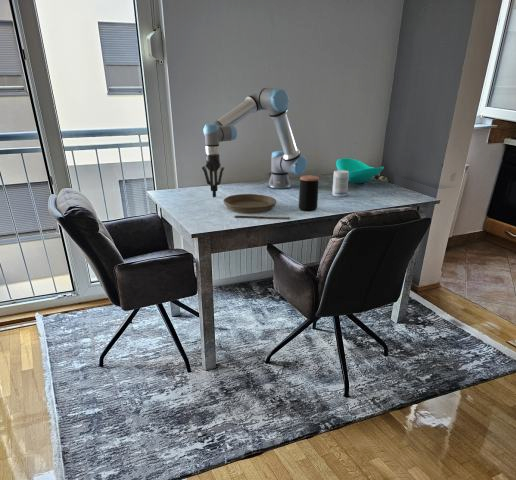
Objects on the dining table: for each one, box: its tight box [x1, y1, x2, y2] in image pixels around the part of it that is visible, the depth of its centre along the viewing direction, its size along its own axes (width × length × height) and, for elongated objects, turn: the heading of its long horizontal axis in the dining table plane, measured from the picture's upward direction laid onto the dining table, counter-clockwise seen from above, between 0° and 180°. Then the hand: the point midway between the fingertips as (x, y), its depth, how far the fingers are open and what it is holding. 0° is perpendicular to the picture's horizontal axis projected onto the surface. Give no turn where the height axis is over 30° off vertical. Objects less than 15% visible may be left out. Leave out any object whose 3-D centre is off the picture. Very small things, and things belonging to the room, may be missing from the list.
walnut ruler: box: [234, 215, 290, 220], centre depth 258 cm, size 30×2×1 cm, turn 84°
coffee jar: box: [298, 174, 320, 213], centre depth 269 cm, size 11×11×18 cm
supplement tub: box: [331, 169, 349, 198], centre depth 298 cm, size 10×10×15 cm
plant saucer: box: [223, 193, 277, 214], centre depth 275 cm, size 31×31×5 cm
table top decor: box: [335, 157, 384, 184], centre depth 331 cm, size 40×28×13 cm
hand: (214, 196), depth 275 cm, fingers closed
